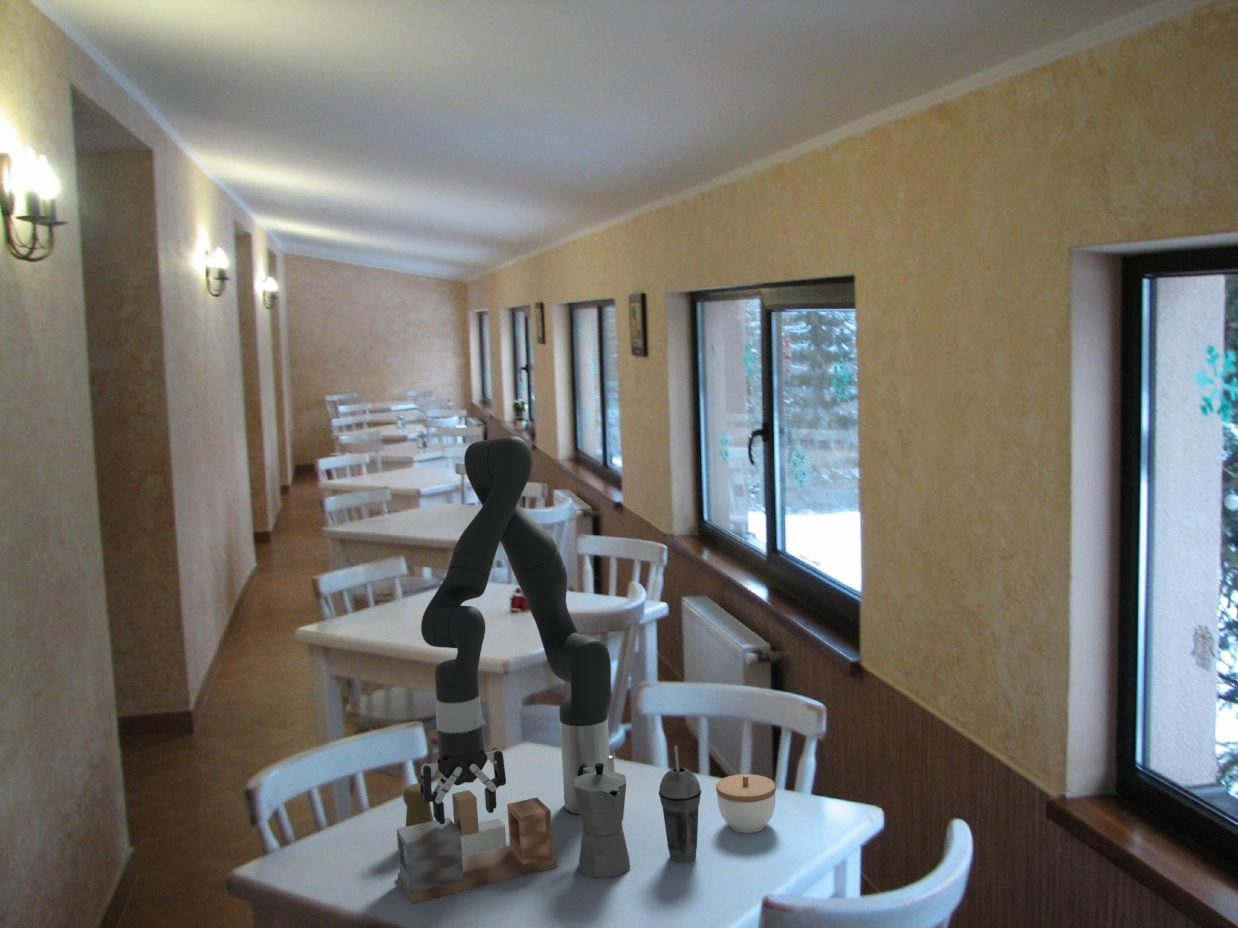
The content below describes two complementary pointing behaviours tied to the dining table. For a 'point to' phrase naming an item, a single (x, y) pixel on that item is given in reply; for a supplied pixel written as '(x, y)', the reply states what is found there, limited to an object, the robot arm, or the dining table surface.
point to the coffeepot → (601, 822)
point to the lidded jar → (746, 801)
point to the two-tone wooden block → (474, 827)
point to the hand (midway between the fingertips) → (465, 816)
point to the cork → (416, 806)
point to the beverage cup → (680, 812)
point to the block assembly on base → (446, 871)
